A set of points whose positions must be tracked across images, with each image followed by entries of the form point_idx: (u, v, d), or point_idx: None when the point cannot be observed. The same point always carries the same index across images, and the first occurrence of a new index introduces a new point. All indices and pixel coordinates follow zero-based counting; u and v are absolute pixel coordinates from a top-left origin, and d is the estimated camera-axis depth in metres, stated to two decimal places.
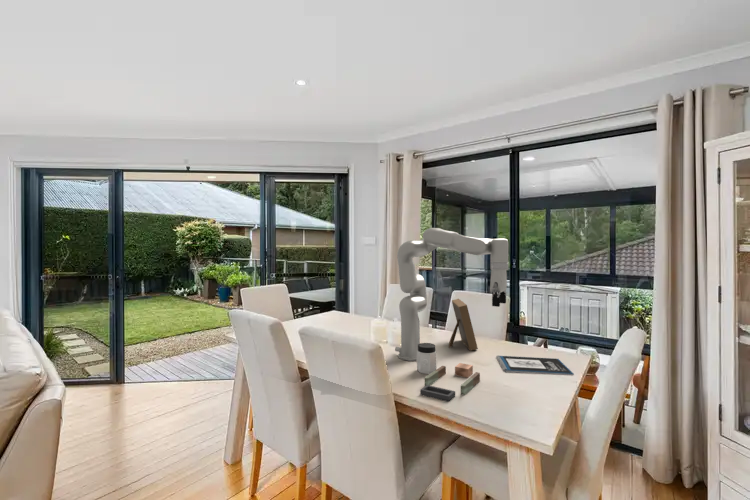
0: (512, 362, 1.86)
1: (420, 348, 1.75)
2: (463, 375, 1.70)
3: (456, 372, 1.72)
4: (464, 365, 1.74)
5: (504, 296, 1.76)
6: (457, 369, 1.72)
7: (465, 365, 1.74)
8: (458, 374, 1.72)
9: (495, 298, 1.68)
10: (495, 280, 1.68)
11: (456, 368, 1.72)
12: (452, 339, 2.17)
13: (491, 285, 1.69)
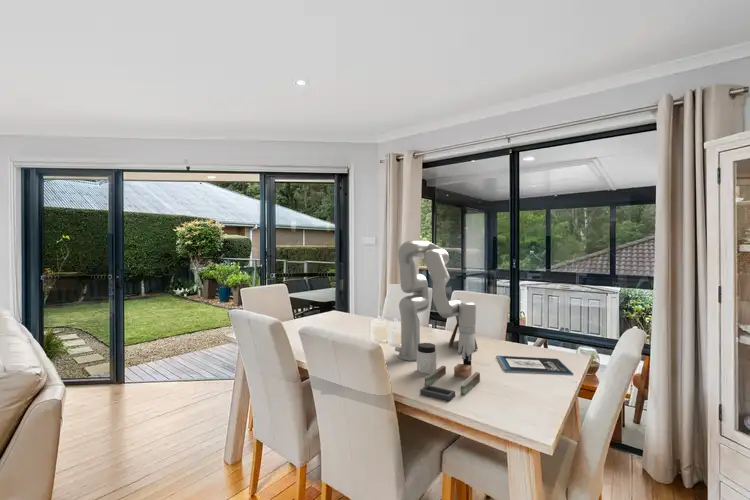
0: (511, 362, 1.86)
1: (420, 348, 1.75)
2: (462, 375, 1.69)
3: (455, 373, 1.71)
4: (463, 365, 1.73)
5: None
6: (457, 370, 1.71)
7: (464, 365, 1.73)
8: (457, 375, 1.71)
9: (466, 362, 1.75)
10: (462, 344, 1.72)
11: (455, 369, 1.71)
12: (452, 339, 2.17)
13: (459, 349, 1.73)
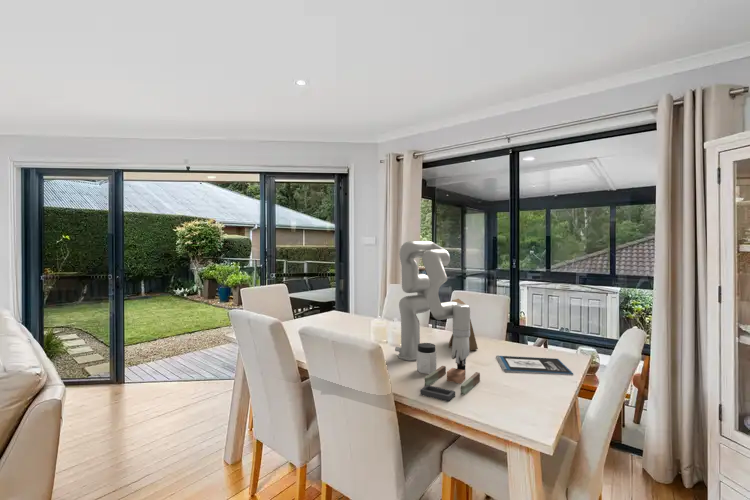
0: (511, 362, 1.86)
1: (420, 348, 1.75)
2: (455, 381, 1.63)
3: (448, 377, 1.65)
4: (456, 370, 1.67)
5: None
6: (449, 375, 1.65)
7: (458, 370, 1.67)
8: (450, 379, 1.65)
9: (460, 366, 1.69)
10: (456, 348, 1.66)
11: (448, 373, 1.65)
12: (452, 339, 2.17)
13: (452, 353, 1.67)
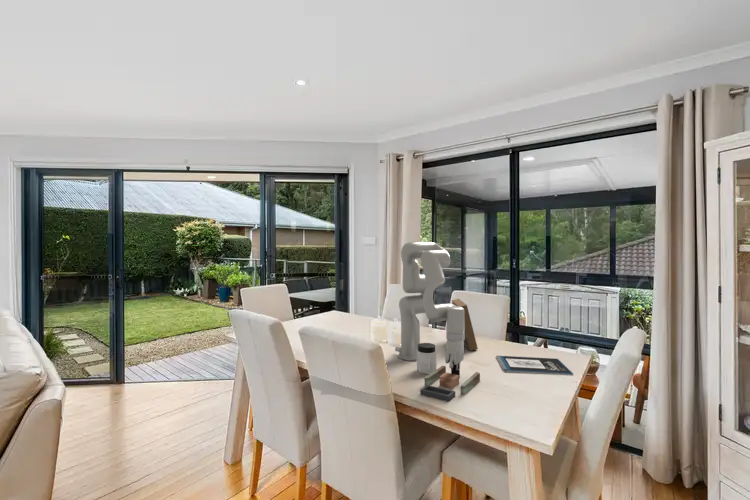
0: (511, 362, 1.86)
1: (420, 348, 1.75)
2: (448, 386, 1.58)
3: (441, 382, 1.60)
4: (450, 375, 1.62)
5: None
6: (442, 379, 1.59)
7: (451, 375, 1.62)
8: (443, 385, 1.59)
9: (454, 371, 1.64)
10: (450, 352, 1.61)
11: (441, 378, 1.60)
12: None
13: (446, 357, 1.62)
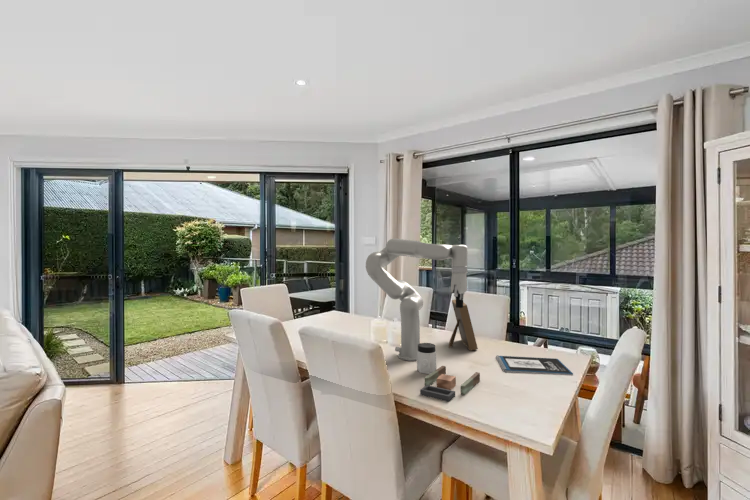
0: (511, 362, 1.86)
1: (420, 348, 1.75)
2: (445, 388, 1.56)
3: (438, 384, 1.58)
4: (446, 376, 1.60)
5: None
6: (439, 381, 1.57)
7: (448, 376, 1.60)
8: (440, 387, 1.57)
9: (458, 300, 1.88)
10: (455, 282, 1.85)
11: (438, 380, 1.58)
12: (452, 339, 2.17)
13: (451, 287, 1.86)
